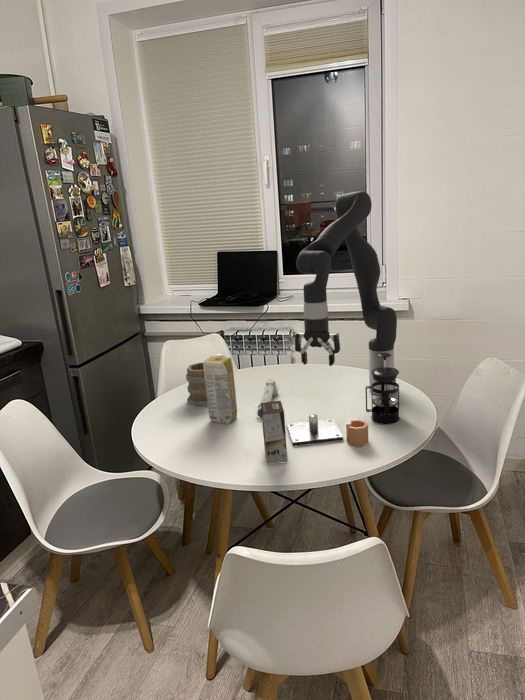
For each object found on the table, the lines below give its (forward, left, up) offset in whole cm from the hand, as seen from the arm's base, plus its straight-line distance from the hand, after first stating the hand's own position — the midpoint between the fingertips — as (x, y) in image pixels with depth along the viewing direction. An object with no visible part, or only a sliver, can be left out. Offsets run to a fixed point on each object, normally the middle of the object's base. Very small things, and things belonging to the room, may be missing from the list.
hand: (318, 364), depth 167 cm
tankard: (+36, -38, -22) cm, 57 cm away
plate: (+3, +4, -22) cm, 23 cm away
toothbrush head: (+15, -25, -23) cm, 37 cm away
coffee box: (+17, +16, -22) cm, 32 cm away
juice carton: (+32, -15, -22) cm, 42 cm away
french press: (-22, -1, -22) cm, 31 cm away
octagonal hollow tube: (-9, +13, -22) cm, 27 cm away
